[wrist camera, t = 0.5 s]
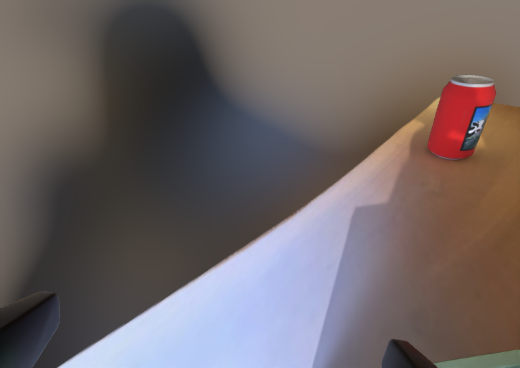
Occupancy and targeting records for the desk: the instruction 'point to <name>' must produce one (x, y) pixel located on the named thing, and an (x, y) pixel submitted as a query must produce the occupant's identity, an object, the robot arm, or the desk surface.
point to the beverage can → (461, 116)
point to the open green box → (485, 361)
